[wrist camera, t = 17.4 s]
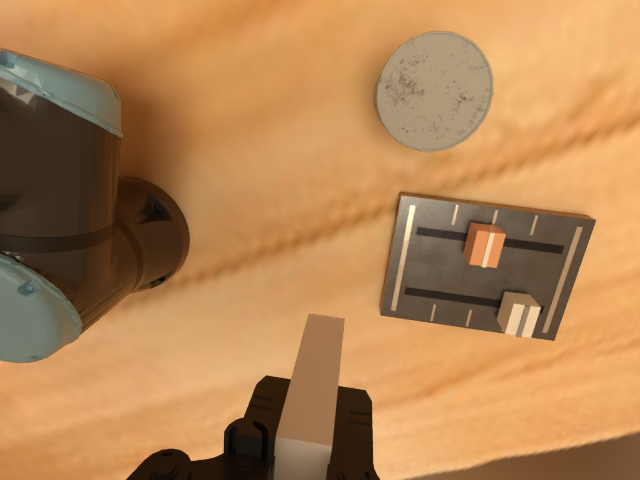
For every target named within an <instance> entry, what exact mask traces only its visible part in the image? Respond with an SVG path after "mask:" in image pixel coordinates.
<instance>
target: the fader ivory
mask: <svg viewBox="0 0 640 480" xmlns="http://www.w3.org/2000/svg"><path fill="white" fill-rule="evenodd" d="M540 309H541V307H540V306H539V305H538V304H537V302H536V301H535V300H534V299H533V298H532V297H531V295H528V294H521V293H513V292H506V291H505V292H504V296H503V299H502V303H501V306H500V310H499V313H498V317H497V322H498V323H499V325H500V327H501V328H502V330H503V331H504V333H505V334H510V335H516V337H521V336H523V337H530V338H531V336H532V333H533V330H534V327H535V324H536V321H537V318H538V315H539V312H540Z"/></svg>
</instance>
